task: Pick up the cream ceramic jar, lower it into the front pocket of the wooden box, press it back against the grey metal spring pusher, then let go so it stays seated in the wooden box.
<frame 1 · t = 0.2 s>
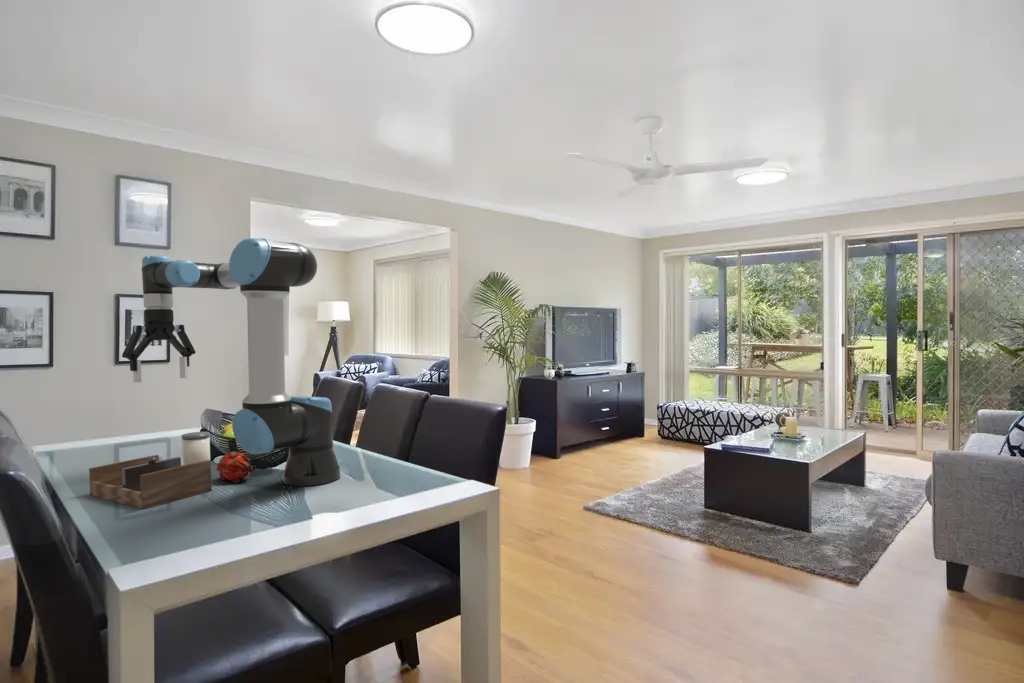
hand: (161, 380, 176), 27 cm above the table, fingers open, 13 cm apart
jar: (197, 475, 171), on the table
dragon fruit: (236, 480, 165), on the table
pusher: (152, 473, 153), point 5 cm above the table, slide at 0.0 cm
wooden box: (151, 492, 153), on the table
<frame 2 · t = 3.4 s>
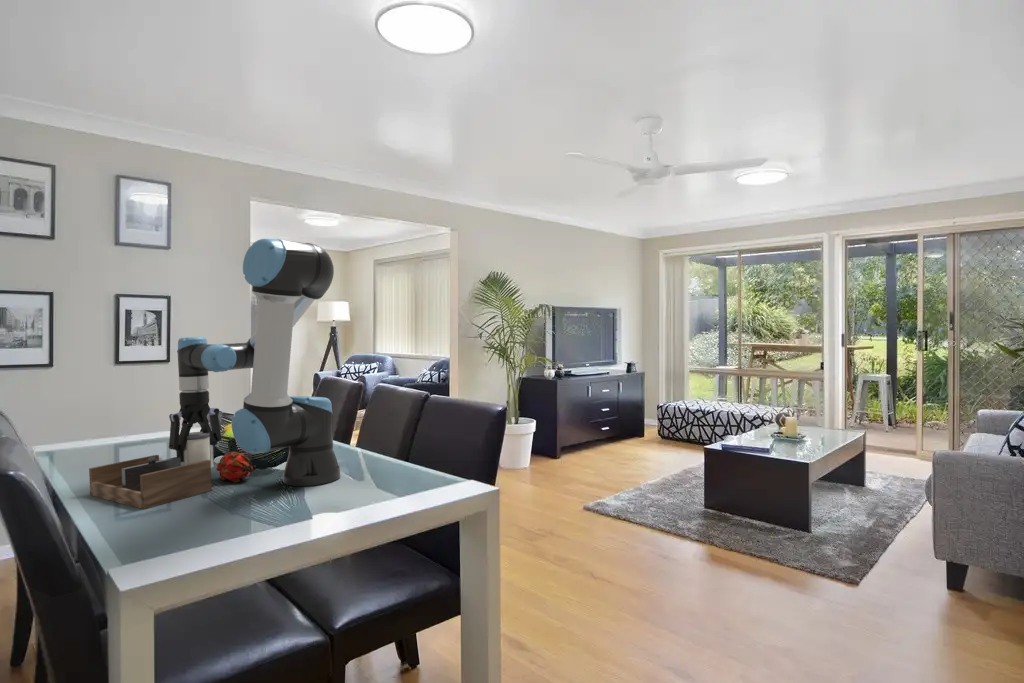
hand: (197, 469, 171), 2 cm above the table, fingers closed on jar, 7 cm apart
jar: (197, 475, 171), on the table, touching gripper
everything else where it was.
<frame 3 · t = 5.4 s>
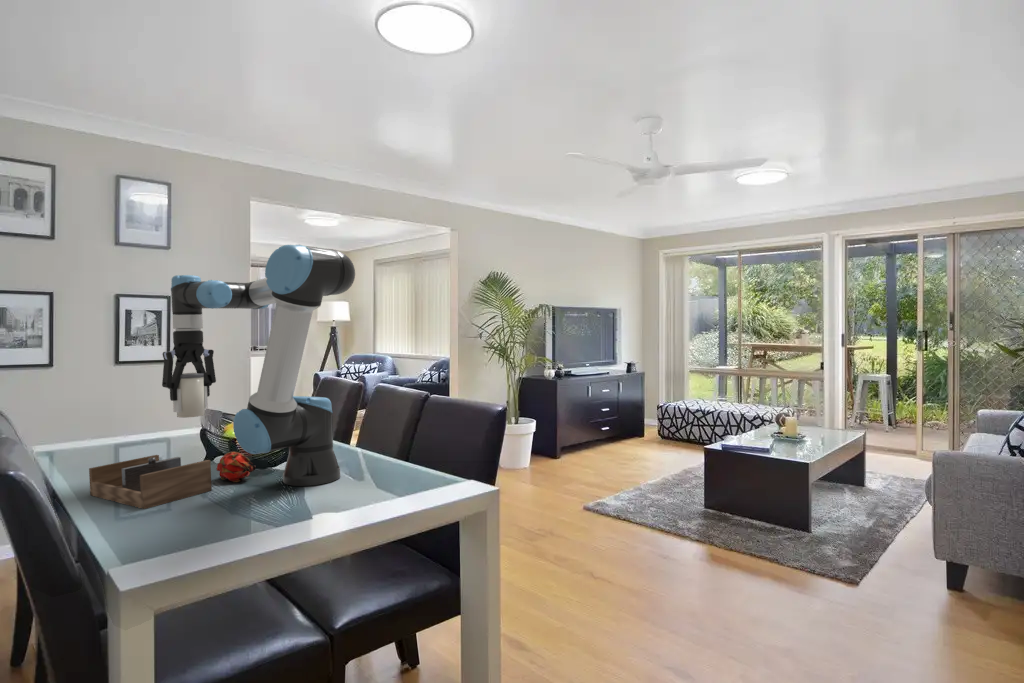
hand: (190, 410, 169), 19 cm above the table, fingers closed on jar, 7 cm apart
jar: (191, 415, 169), point 17 cm above the table, touching gripper
everything else where it was.
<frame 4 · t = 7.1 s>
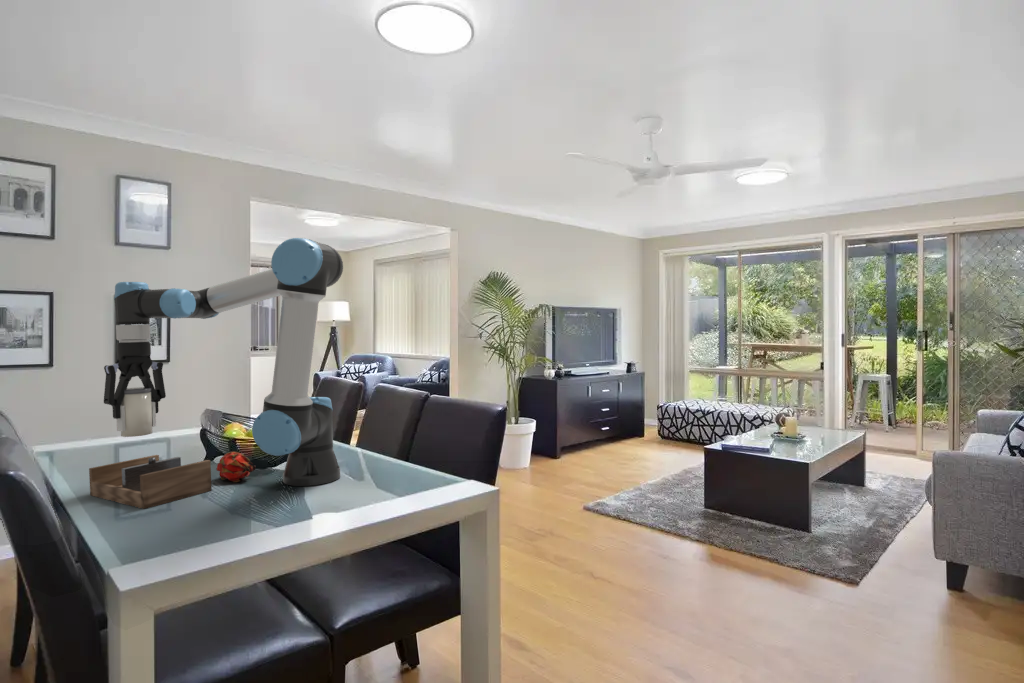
hand: (136, 428, 156), 16 cm above the table, fingers closed on jar, 7 cm apart
jar: (136, 434, 156), point 15 cm above the table, touching gripper
everything else where it was.
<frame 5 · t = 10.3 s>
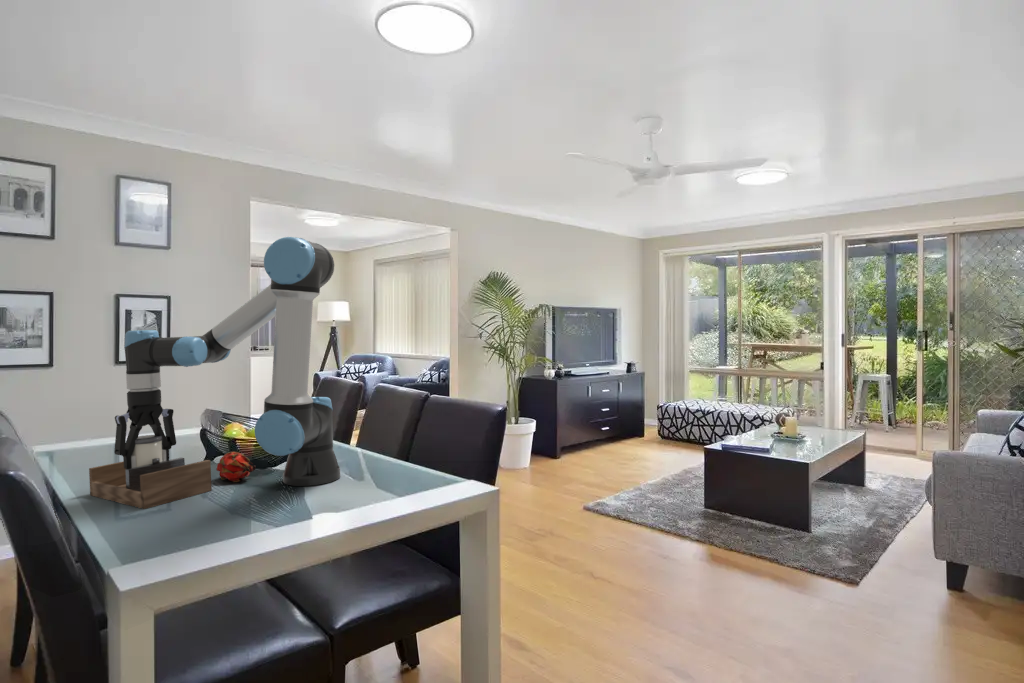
hand: (147, 477, 154), 4 cm above the table, fingers closed on jar, 7 cm apart
jar: (147, 483, 154), point 2 cm above the table, touching gripper, pusher
pusher: (156, 474, 152), point 5 cm above the table, slide at 1.8 cm, touching jar
everything else where it was.
when the fingers open (4 cm above the table, at t = 11.3 s): jar drops 1 cm, resting on wooden box.
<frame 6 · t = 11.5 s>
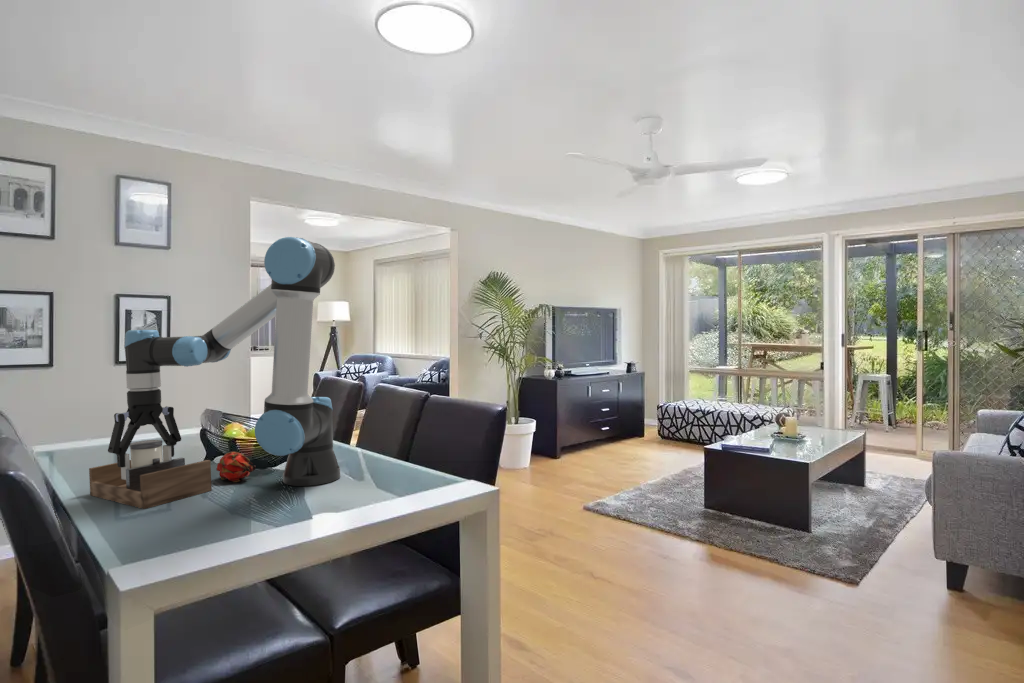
hand: (147, 474, 154), 5 cm above the table, fingers open, 10 cm apart
jar: (147, 488, 154), point 1 cm above the table, touching wooden box
pusher: (156, 474, 152), point 5 cm above the table, slide at 1.9 cm
everything else where it was.
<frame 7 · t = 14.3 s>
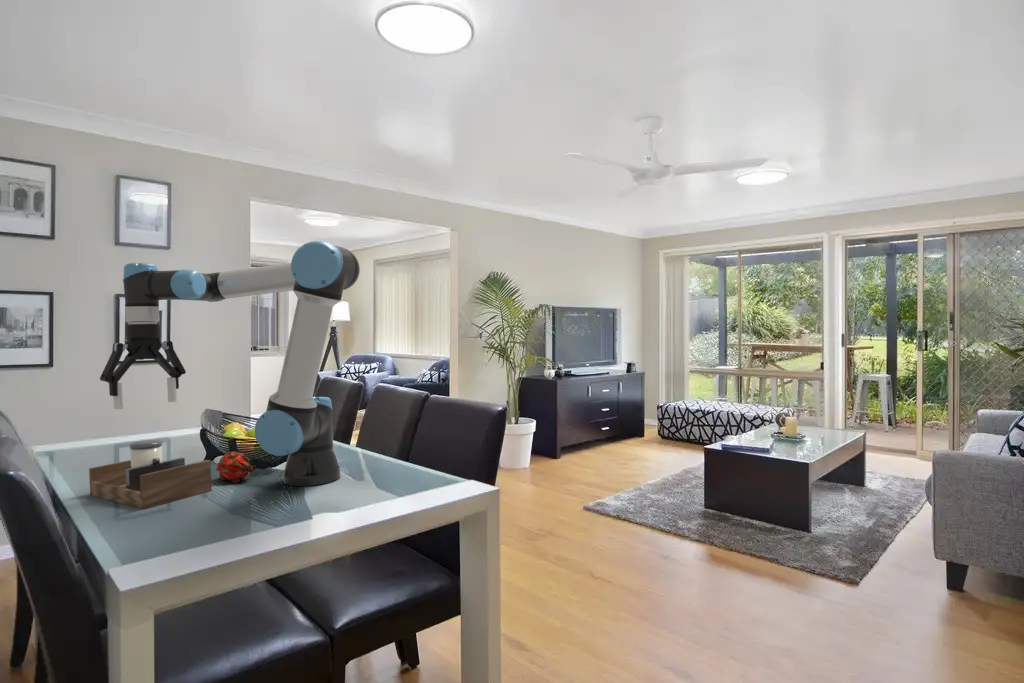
hand: (146, 405, 154), 23 cm above the table, fingers open, 13 cm apart
jar: (147, 488, 154), point 1 cm above the table, touching wooden box, pusher
pusher: (156, 474, 152), point 5 cm above the table, slide at 1.8 cm, touching jar
everything else where it was.
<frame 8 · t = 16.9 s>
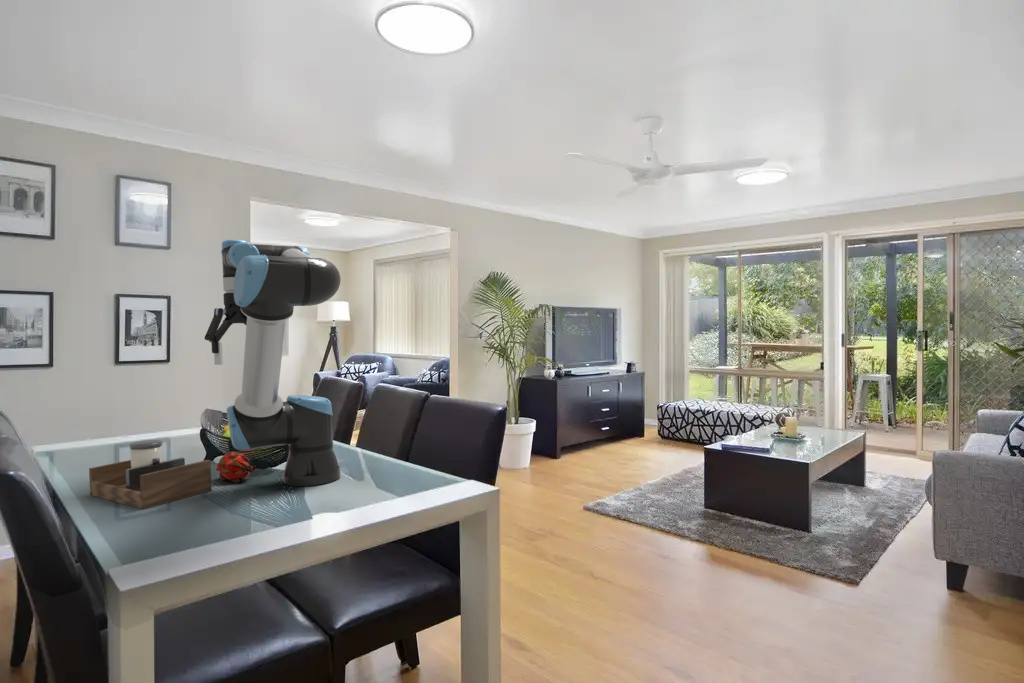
hand: (239, 363, 178), 32 cm above the table, fingers open, 13 cm apart
jar: (147, 488, 154), point 1 cm above the table, touching wooden box
pusher: (156, 474, 152), point 5 cm above the table, slide at 1.8 cm
everything else where it was.
at the end: jar inside the target area on the wooden box (2.8 cm from its centre), point 1.0 cm above the wooden box's base; jar tilted 0°; the gripper is holding nothing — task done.
